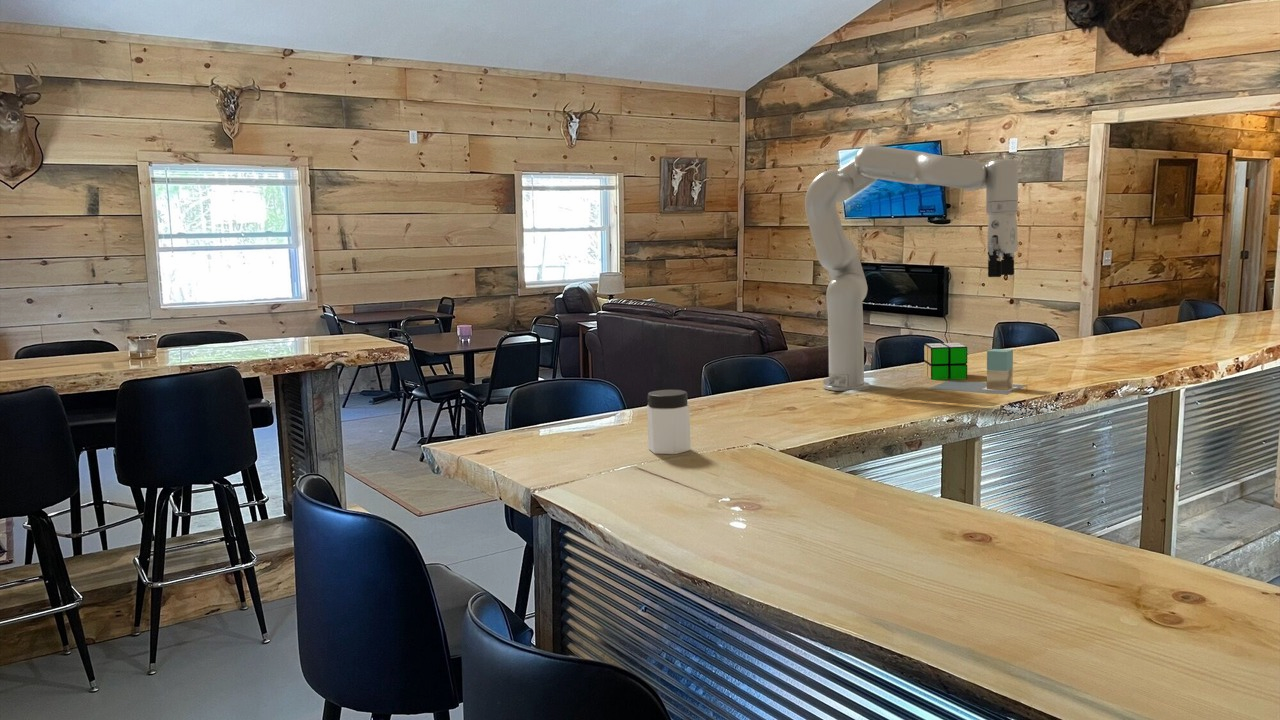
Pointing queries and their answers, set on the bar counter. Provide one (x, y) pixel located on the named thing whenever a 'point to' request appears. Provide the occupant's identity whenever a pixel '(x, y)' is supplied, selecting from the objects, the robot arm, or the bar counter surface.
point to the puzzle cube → (945, 361)
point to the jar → (668, 422)
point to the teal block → (1000, 359)
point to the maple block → (999, 379)
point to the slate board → (973, 387)
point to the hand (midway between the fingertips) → (1001, 275)
